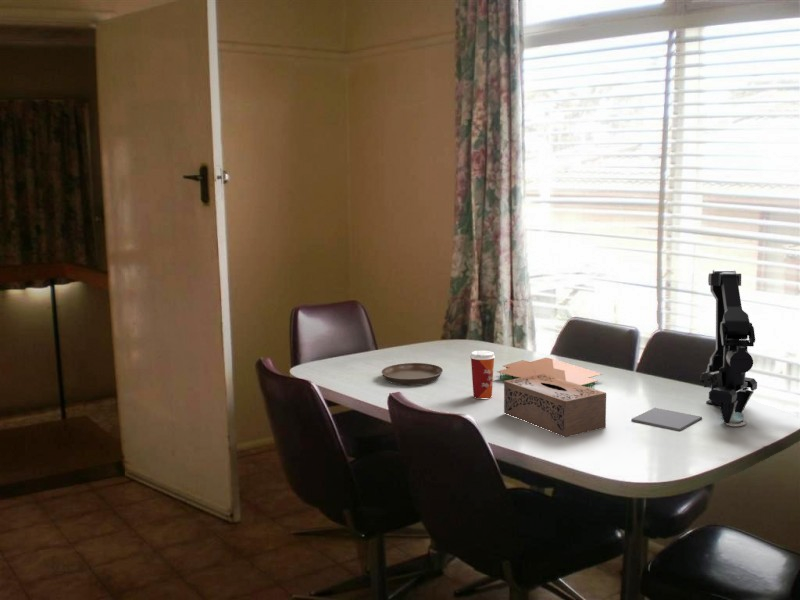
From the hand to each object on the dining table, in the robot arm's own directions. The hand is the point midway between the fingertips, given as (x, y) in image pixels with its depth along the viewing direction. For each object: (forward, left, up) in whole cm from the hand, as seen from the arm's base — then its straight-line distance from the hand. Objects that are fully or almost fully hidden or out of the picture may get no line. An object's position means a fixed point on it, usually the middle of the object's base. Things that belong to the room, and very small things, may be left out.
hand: (732, 419), depth 231 cm
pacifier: (0, +1, -1) cm, 1 cm away
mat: (+8, -15, -1) cm, 17 cm away
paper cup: (+21, -69, -1) cm, 72 cm away
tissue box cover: (+28, -39, -2) cm, 48 cm away
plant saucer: (+18, -101, -2) cm, 103 cm away
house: (-8, -63, -2) cm, 63 cm away
